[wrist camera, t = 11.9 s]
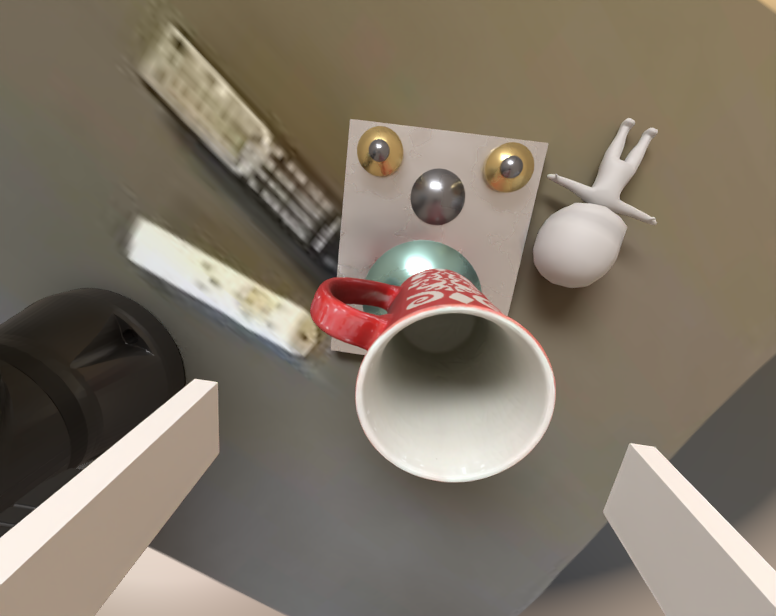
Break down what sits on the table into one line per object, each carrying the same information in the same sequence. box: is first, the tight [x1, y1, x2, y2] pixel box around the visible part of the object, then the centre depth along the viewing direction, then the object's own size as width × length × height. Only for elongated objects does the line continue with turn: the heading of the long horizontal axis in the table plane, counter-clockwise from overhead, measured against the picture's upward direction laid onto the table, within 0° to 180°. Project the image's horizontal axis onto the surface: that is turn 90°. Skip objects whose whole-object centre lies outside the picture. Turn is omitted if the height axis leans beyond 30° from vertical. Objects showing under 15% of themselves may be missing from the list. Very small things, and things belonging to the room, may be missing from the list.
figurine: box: [533, 118, 658, 288], centre depth 25 cm, size 8×5×12 cm
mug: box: [310, 269, 556, 482], centre depth 22 cm, size 13×9×14 cm
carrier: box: [331, 119, 548, 355], centre depth 27 cm, size 14×18×3 cm
